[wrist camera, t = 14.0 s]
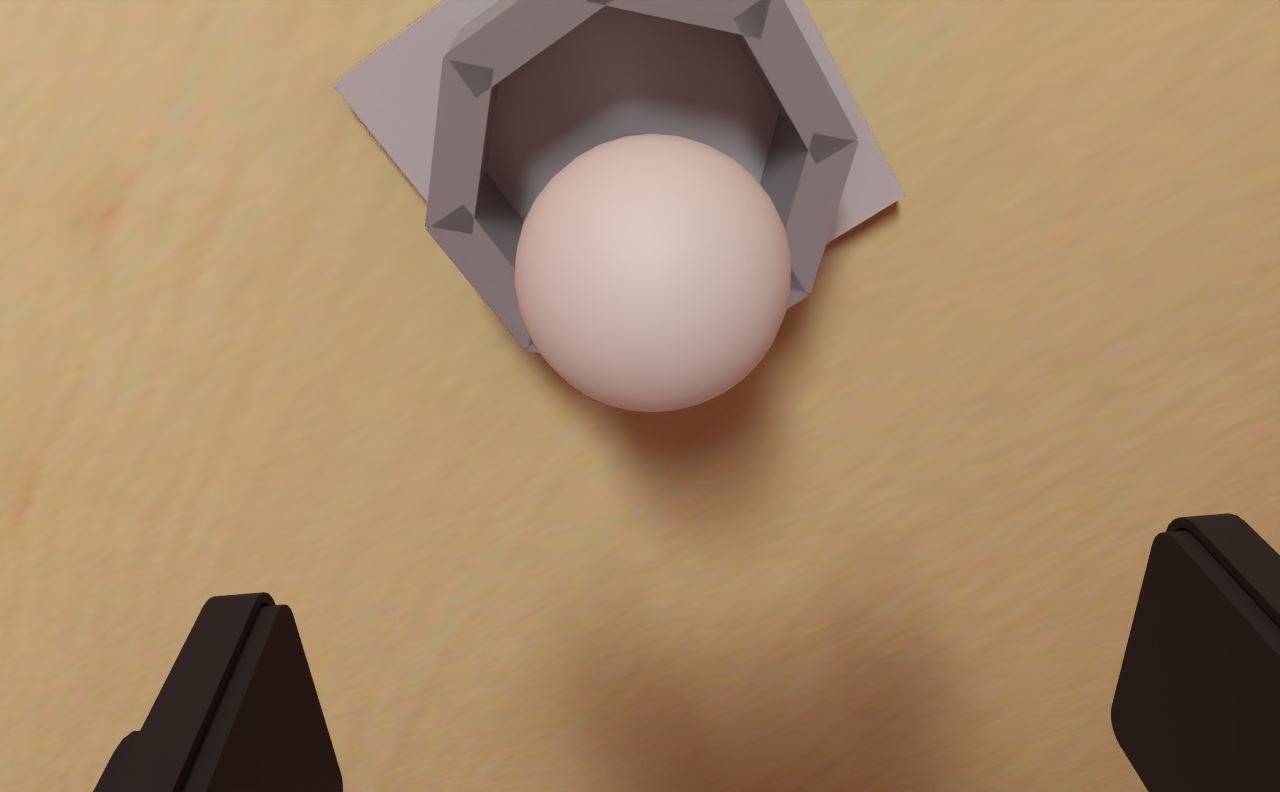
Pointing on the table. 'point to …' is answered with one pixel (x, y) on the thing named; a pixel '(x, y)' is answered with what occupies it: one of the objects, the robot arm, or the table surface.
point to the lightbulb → (653, 272)
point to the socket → (613, 115)
